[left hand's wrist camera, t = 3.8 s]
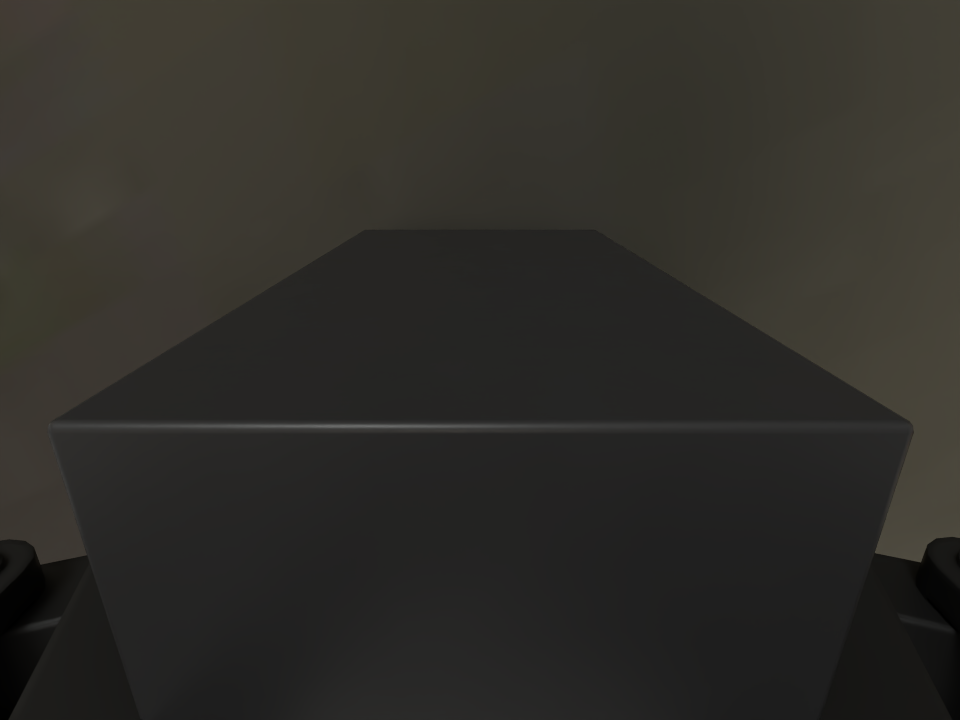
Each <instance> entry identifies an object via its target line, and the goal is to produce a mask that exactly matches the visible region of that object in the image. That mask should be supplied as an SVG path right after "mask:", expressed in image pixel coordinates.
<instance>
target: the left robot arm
mask: <svg viewBox="0 0 960 720" xmlns="http://www.w3.org/2000/svg"><path fill="white" fill-rule="evenodd" d="M0 720H142V719H140V716H139V713H138V710H137V707H136V704H135V701H134V698H133V695H132V692H131V689H130V685H129V682H128V679H127V676H126V673H125V670H124V667H123V664H122V661H121V658H120V655H119V651H118V648H117V645H116V642H115V639H114V636H113V633H112V630H111V627H110V624H109V621H108V618H107V614H106V611H105V608H104V605H103V602H102V599H101V596H100V593H99V590H98V587H97V584H96V581H95V577H94V574H93V571H92V568H91V565H90V562H89V559H88V556H82V557H77V558H72V559H67V560H62V561H57V562H52V563H47V564H42V565H40V563H39V560H38V557H37V554H36V552H35V549H34V547H33V546H32V545H30V544H29V543H27V542H26V541H20V540H10V539H9V540H2V541H0ZM818 720H960V538H955V537H947V538H937V539H935V540H933V541H932V542H931V543H929V544H928V545H927V548H926V550H925V553H924V556H923V559H922V561H921V563H920V562H915V561H911V560H906V559H901V558H896V557H891V556H886V555H881V554H876V553H874V556H873V559H872V562H871V565H870V568H869V571H868V574H867V577H866V580H865V583H864V587H863V590H862V593H861V596H860V599H859V602H858V605H857V608H856V611H855V614H854V617H853V620H852V623H851V627H850V630H849V633H848V636H847V639H846V642H845V645H844V648H843V651H842V654H841V657H840V660H839V663H838V667H837V670H836V673H835V676H834V679H833V682H832V685H831V688H830V691H829V694H828V697H827V700H826V703H825V706H824V710H823V713H822V716H821V718H819V719H818Z"/></svg>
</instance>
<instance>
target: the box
mask: <svg viewBox="0 0 960 720" xmlns="http://www.w3.org/2000/svg"><path fill="white" fill-rule="evenodd" d="M913 433H914V432H913V426H912V424H911V423H910V421H908V420H906V419H905V418H903V417H901V416H900V415H898V414H896V413H895V412H893V411H892V410H890V409H888V408H887V407H885V406H883V405H882V404H880V403H878V402H877V401H875V400H873V399H872V398H870V397H869V396H867V395H865V394H864V393H862V392H860V391H859V390H857V389H855V388H854V387H852V386H851V385H849V384H847V383H846V382H844V381H842V380H841V379H839V378H837V377H836V376H834V375H832V374H831V373H829V372H828V371H826V370H824V369H823V368H821V367H819V366H818V365H816V364H814V363H813V362H811V361H809V360H808V359H806V358H805V357H803V356H801V355H800V354H798V353H796V352H795V351H793V350H791V349H790V348H788V347H787V346H785V345H783V344H782V343H780V342H778V341H777V340H775V339H773V338H772V337H770V336H768V335H767V334H765V333H764V332H762V331H760V330H759V329H757V328H755V327H754V326H752V325H750V324H749V323H747V322H745V321H744V320H742V319H741V318H739V317H737V316H736V315H734V314H732V313H731V312H729V311H727V310H726V309H724V308H723V307H721V306H719V305H718V304H716V303H714V302H713V301H711V300H709V299H708V298H706V297H704V296H703V295H701V294H700V293H698V292H696V291H695V290H693V289H691V288H690V287H688V286H686V285H685V284H683V283H682V282H680V281H678V280H677V279H675V278H673V277H672V276H670V275H668V274H667V273H665V272H663V271H662V270H660V269H659V268H657V267H655V266H654V265H652V264H650V263H649V262H647V261H645V260H644V259H642V258H640V257H639V256H637V255H636V254H634V253H632V252H631V251H629V250H627V249H626V248H624V247H622V246H621V245H619V244H618V243H616V242H614V241H613V240H611V239H609V238H608V237H606V236H604V235H603V234H601V233H599V232H598V231H596V230H364V231H362V232H361V233H359V234H358V235H356V236H354V237H353V238H351V239H349V240H348V241H346V242H344V243H343V244H341V245H340V246H338V247H336V248H335V249H333V250H331V251H330V252H328V253H326V254H325V255H323V256H322V257H320V258H318V259H317V260H315V261H313V262H312V263H310V264H308V265H307V266H305V267H304V268H302V269H300V270H299V271H297V272H295V273H294V274H292V275H290V276H289V277H287V278H286V279H284V280H282V281H281V282H279V283H277V284H276V285H274V286H272V287H271V288H269V289H267V290H266V291H264V292H263V293H261V294H259V295H258V296H256V297H254V298H253V299H251V300H249V301H248V302H246V303H245V304H243V305H241V306H240V307H238V308H236V309H235V310H233V311H231V312H230V313H228V314H227V315H225V316H223V317H222V318H220V319H218V320H217V321H215V322H213V323H212V324H210V325H209V326H207V327H205V328H204V329H202V330H200V331H199V332H197V333H195V334H194V335H192V336H191V337H189V338H187V339H186V340H184V341H182V342H181V343H179V344H177V345H176V346H174V347H173V348H171V349H169V350H168V351H166V352H164V353H163V354H161V355H159V356H158V357H156V358H154V359H153V360H151V361H150V362H148V363H146V364H145V365H143V366H141V367H140V368H138V369H136V370H135V371H133V372H132V373H130V374H128V375H127V376H125V377H123V378H122V379H120V380H118V381H117V382H115V383H114V384H112V385H110V386H109V387H107V388H105V389H104V390H102V391H100V392H99V393H97V394H96V395H94V396H92V397H91V398H89V399H87V400H86V401H84V402H82V403H81V404H79V405H78V406H76V407H74V408H73V409H71V410H69V411H68V412H66V413H64V414H63V415H61V416H59V417H58V418H56V419H55V420H53V421H51V423H50V424H49V426H48V436H49V439H50V442H51V445H52V448H53V451H54V454H55V457H56V460H57V463H58V466H59V469H60V473H61V476H62V479H63V482H64V485H65V488H66V491H67V494H68V497H69V500H70V503H71V507H72V510H73V513H74V516H75V519H76V522H77V525H78V528H79V531H80V534H81V537H82V540H83V544H84V547H85V550H86V553H87V556H88V559H89V562H90V565H91V568H92V571H93V574H94V577H95V581H96V584H97V587H98V590H99V593H100V596H101V599H102V602H103V605H104V608H105V611H106V614H107V618H108V621H109V624H110V627H111V630H112V633H113V636H114V639H115V642H116V645H117V648H118V651H119V655H120V658H121V661H122V664H123V667H124V670H125V673H126V676H127V679H128V682H129V685H130V689H131V692H132V695H133V698H134V701H135V704H136V707H137V710H138V713H139V716H140V719H142V720H818V719H819V718H821V716H822V713H823V710H824V706H825V703H826V700H827V697H828V694H829V691H830V688H831V685H832V682H833V679H834V676H835V673H836V670H837V667H838V663H839V660H840V657H841V654H842V651H843V648H844V645H845V642H846V639H847V636H848V633H849V630H850V627H851V623H852V620H853V617H854V614H855V611H856V608H857V605H858V602H859V599H860V596H861V593H862V590H863V587H864V583H865V580H866V577H867V574H868V571H869V568H870V565H871V562H872V559H873V556H874V553H875V550H876V547H877V544H878V540H879V537H880V534H881V531H882V528H883V525H884V522H885V519H886V516H887V513H888V510H889V507H890V504H891V500H892V497H893V494H894V491H895V488H896V485H897V482H898V479H899V476H900V473H901V470H902V467H903V464H904V461H905V457H906V454H907V451H908V448H909V445H910V442H911V439H912V436H913Z"/></svg>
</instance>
